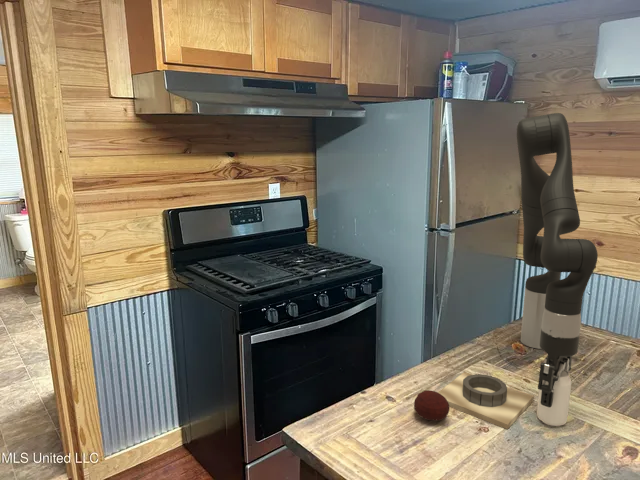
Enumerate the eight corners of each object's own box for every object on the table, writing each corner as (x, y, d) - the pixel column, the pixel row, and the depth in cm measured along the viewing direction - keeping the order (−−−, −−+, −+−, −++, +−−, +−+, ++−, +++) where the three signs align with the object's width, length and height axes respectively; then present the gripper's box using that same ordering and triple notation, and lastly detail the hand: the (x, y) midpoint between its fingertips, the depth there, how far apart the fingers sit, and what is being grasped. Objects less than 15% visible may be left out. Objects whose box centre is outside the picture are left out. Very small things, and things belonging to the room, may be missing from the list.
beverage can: (540, 409, 115) (545, 362, 112) (569, 419, 111) (575, 370, 109) (532, 421, 110) (537, 372, 108) (562, 432, 107) (568, 381, 104)
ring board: (464, 376, 131) (465, 361, 130) (533, 400, 119) (535, 384, 118) (433, 400, 119) (434, 384, 118) (507, 429, 108) (508, 412, 107)
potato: (423, 430, 108) (424, 405, 106) (407, 410, 115) (408, 386, 114) (453, 424, 109) (455, 400, 108) (435, 405, 117) (436, 382, 116)
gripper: (553, 316, 114) (546, 380, 117) (530, 334, 103) (523, 404, 107) (588, 324, 109) (580, 391, 112) (568, 344, 98) (560, 417, 102)
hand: (552, 398), depth 110 cm, fingers open, 8 cm apart
